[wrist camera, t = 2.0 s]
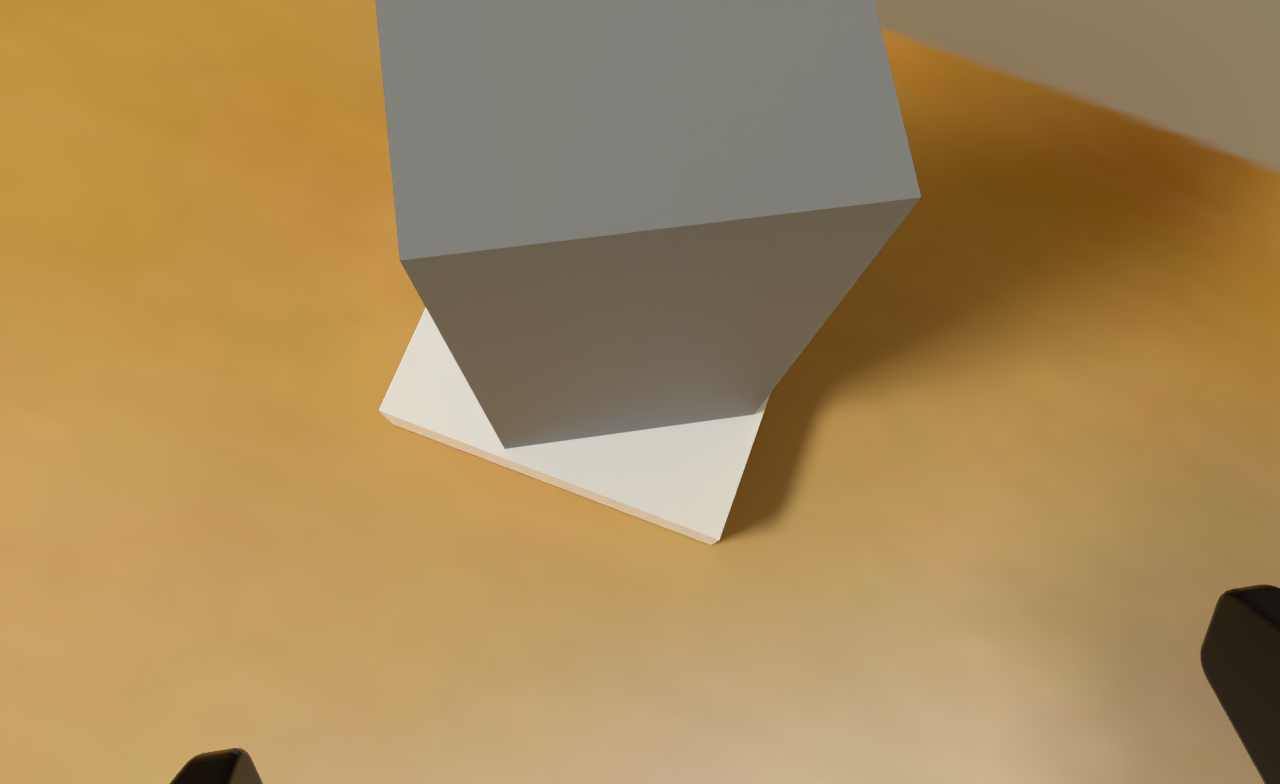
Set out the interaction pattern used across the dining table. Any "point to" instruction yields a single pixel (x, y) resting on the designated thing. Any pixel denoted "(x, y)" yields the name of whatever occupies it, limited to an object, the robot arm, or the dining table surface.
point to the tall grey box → (637, 195)
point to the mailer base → (583, 447)
